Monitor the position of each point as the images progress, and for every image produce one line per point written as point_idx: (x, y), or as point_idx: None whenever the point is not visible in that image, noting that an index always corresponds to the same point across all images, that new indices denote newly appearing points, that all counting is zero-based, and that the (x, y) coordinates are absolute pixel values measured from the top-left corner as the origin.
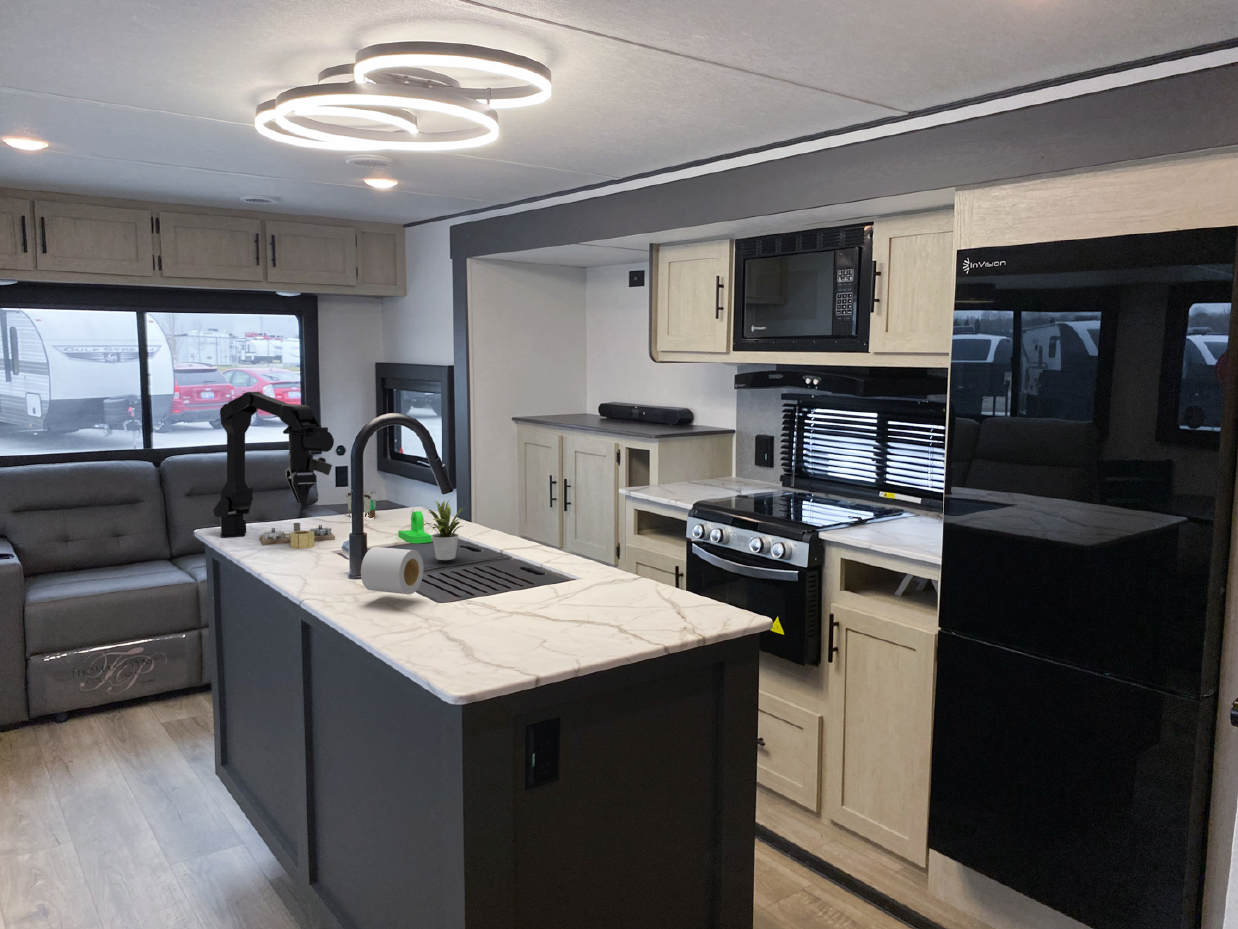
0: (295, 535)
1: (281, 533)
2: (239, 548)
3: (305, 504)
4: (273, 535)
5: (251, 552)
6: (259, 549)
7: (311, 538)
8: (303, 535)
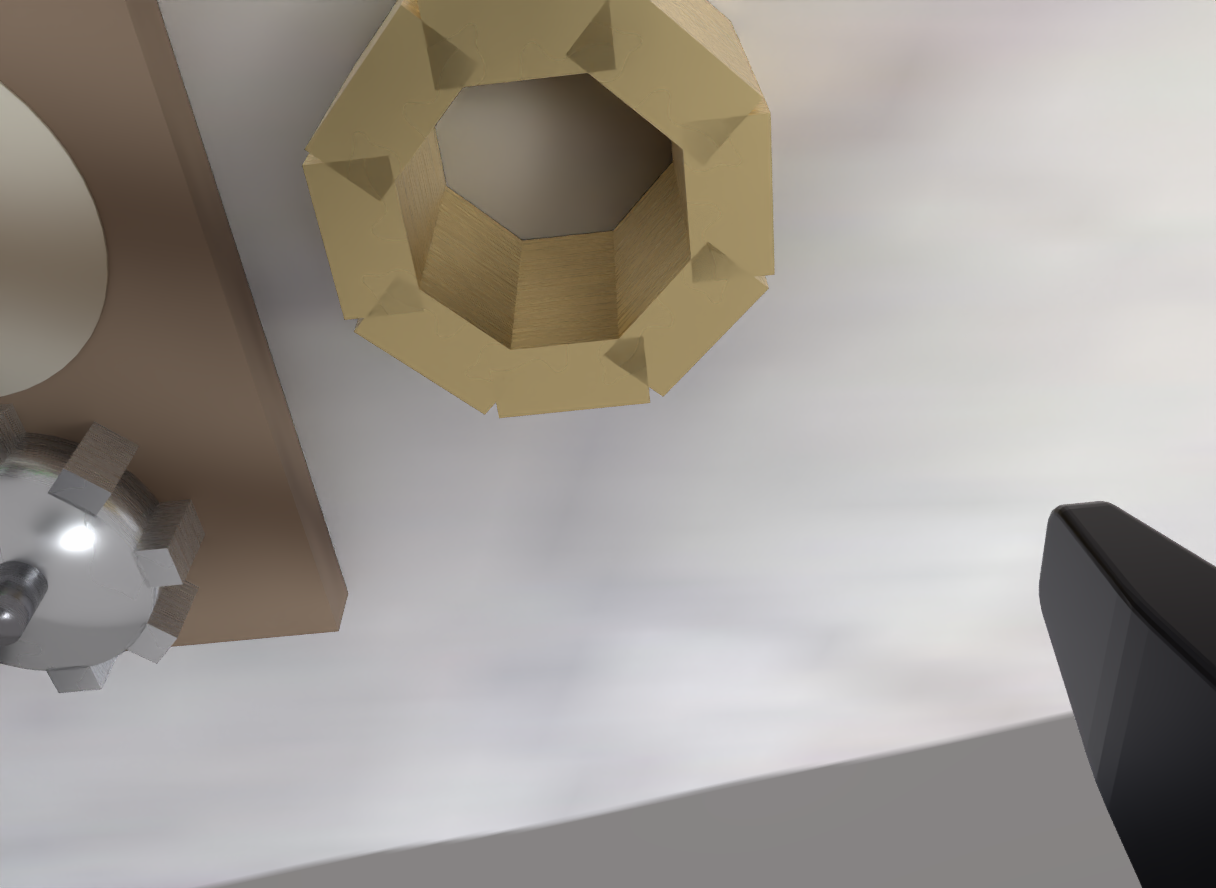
0: (729, 319)
1: (95, 483)
2: (476, 768)
3: (1162, 558)
4: (186, 564)
5: (757, 671)
6: (599, 613)
7: (683, 7)
8: (770, 185)
